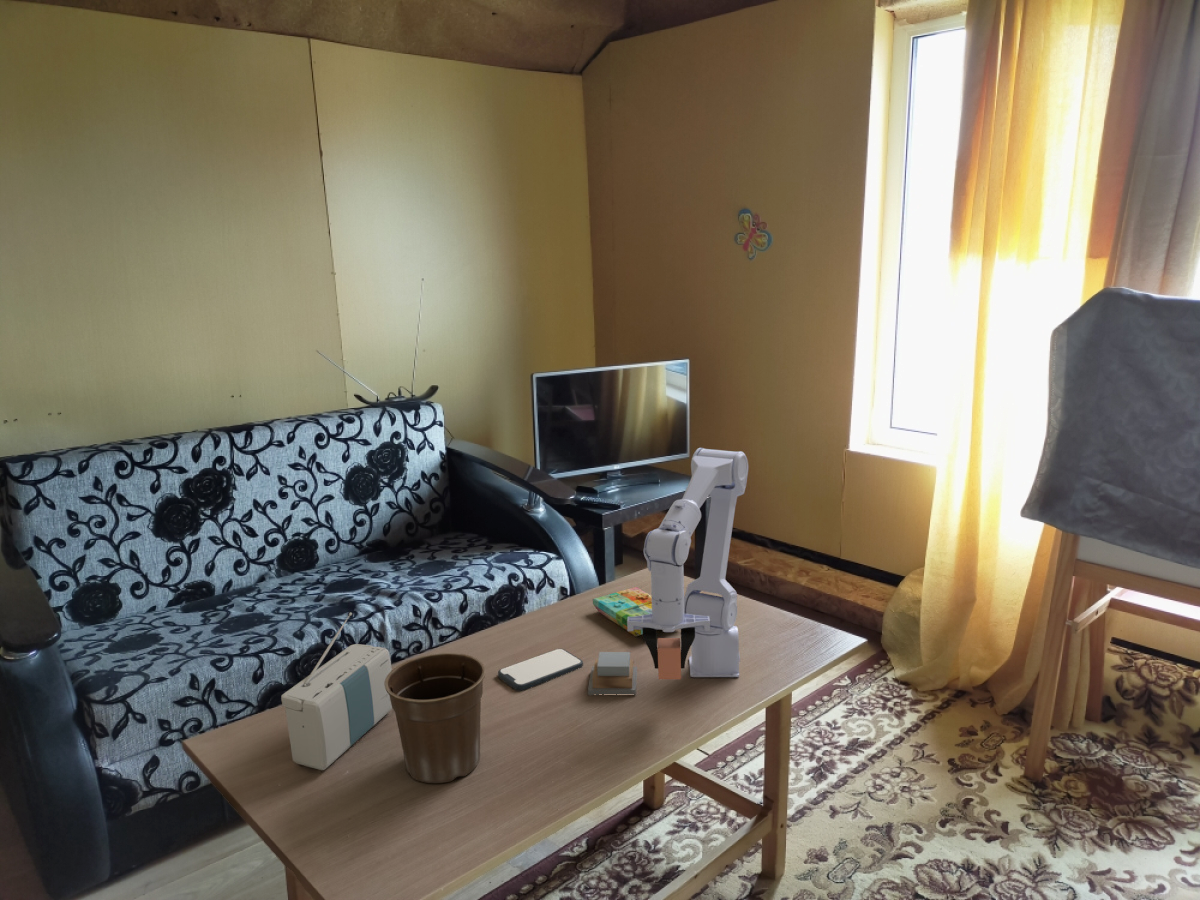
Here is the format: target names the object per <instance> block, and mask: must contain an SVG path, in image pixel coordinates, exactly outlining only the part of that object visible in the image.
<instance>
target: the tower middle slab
mask: <svg viewBox="0 0 1200 900" xmlns="http://www.w3.org/2000/svg"><path fill="white" fill-rule="evenodd" d="M597 666H598V659H594V665H593V667H594V671H593V678H592V681H593V688H632V683H633V667H634V659H630V671H629V676H598V670H597Z"/></svg>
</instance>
